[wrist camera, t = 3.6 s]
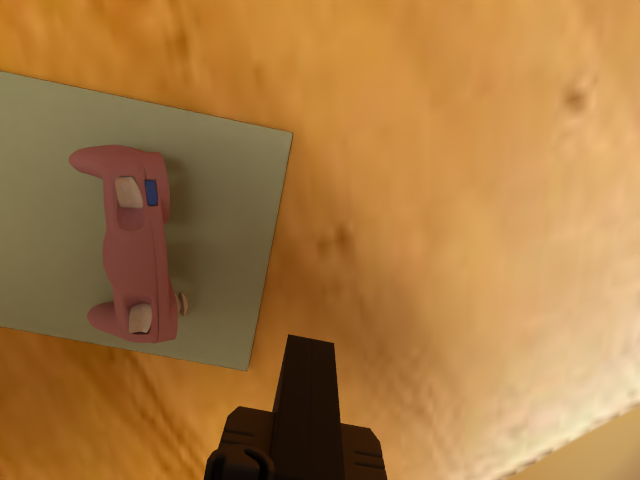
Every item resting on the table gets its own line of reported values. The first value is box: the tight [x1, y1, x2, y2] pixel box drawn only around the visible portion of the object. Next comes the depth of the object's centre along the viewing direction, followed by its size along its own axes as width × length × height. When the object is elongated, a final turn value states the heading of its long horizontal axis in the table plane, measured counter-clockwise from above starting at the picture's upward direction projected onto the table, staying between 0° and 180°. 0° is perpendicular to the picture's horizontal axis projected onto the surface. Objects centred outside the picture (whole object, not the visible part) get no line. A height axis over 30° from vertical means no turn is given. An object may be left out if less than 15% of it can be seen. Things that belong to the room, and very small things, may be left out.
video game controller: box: [69, 145, 188, 344], centre depth 25 cm, size 10×5×7 cm, turn 0°
